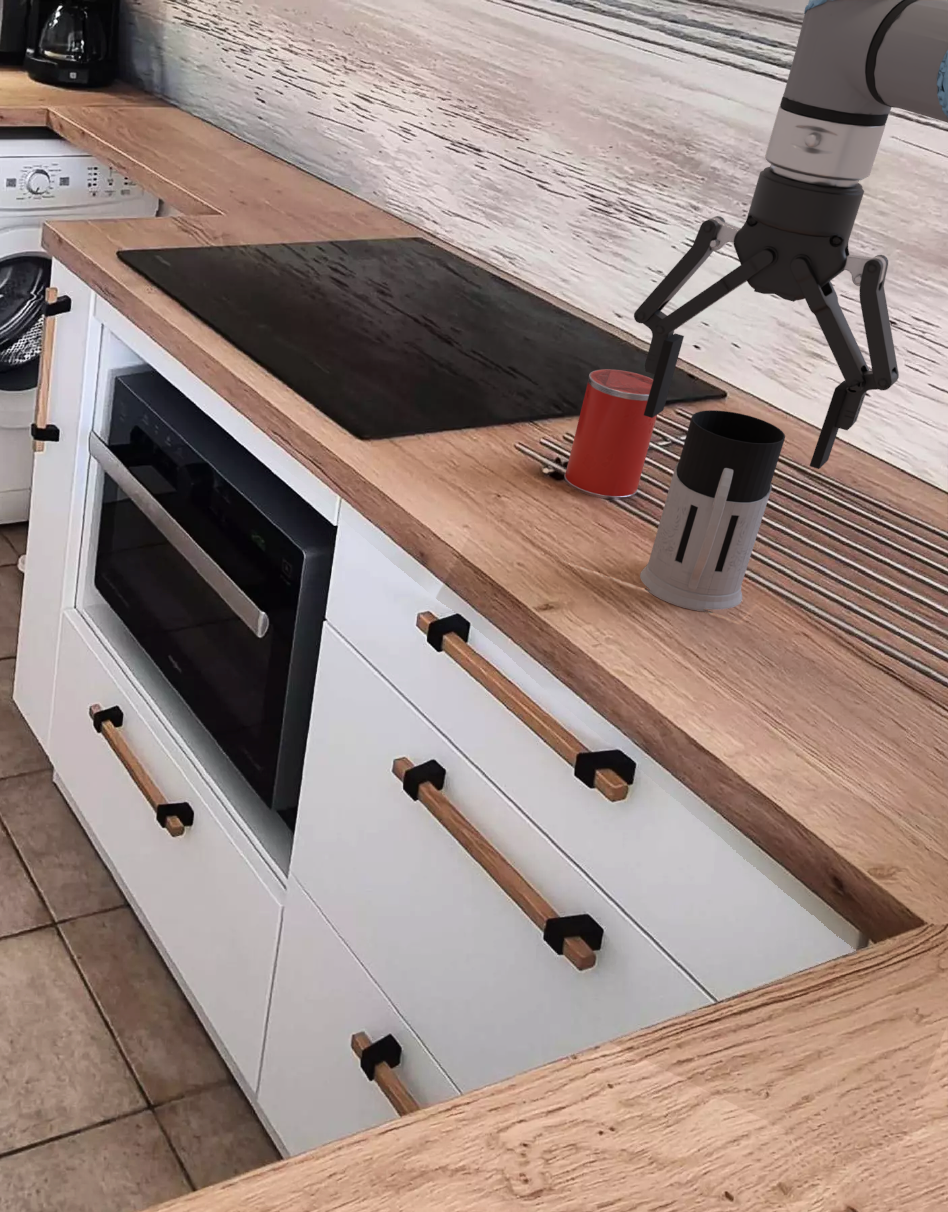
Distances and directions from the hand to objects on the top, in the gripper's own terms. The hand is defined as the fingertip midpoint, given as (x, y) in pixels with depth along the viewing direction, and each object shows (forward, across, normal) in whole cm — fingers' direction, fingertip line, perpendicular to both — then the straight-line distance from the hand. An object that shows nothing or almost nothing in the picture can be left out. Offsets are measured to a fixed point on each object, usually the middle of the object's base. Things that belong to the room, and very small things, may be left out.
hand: (733, 438), depth 129 cm
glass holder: (+15, 0, 0) cm, 15 cm away
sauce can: (+15, -15, +19) cm, 28 cm away
